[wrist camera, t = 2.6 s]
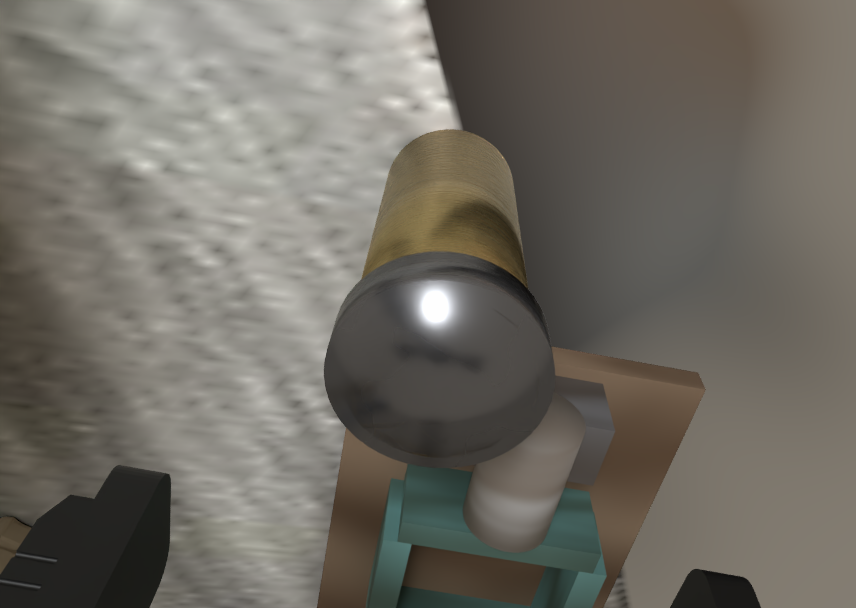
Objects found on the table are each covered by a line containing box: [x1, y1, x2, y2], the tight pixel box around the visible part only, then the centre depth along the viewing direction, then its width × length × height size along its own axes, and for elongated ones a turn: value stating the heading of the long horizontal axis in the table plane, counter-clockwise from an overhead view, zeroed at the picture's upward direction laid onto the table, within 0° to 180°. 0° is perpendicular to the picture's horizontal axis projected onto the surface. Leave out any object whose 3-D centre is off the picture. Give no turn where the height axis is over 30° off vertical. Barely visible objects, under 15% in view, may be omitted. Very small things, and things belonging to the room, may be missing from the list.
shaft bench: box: [317, 347, 706, 608], centre depth 29 cm, size 19×12×5 cm, turn 170°
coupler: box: [324, 130, 555, 468], centre depth 19 cm, size 5×5×10 cm
